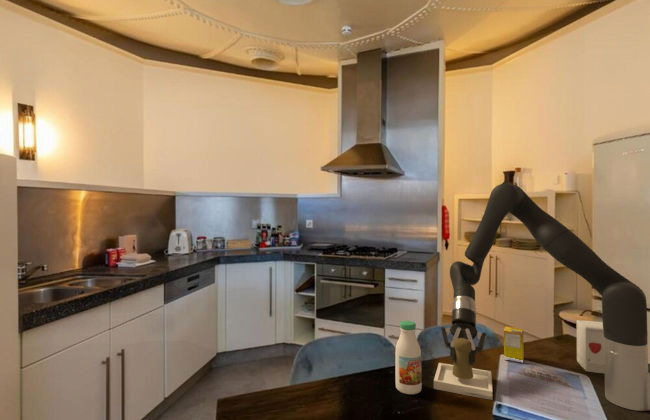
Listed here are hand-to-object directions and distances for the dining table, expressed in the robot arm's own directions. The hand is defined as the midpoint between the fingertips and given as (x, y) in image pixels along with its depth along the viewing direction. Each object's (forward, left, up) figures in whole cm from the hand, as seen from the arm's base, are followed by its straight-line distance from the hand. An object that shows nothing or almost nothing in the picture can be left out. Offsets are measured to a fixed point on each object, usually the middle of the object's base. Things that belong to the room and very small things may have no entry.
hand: (462, 362), depth 105 cm
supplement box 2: (-41, -32, -7) cm, 52 cm away
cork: (0, -2, -5) cm, 5 cm away
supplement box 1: (-16, -29, -8) cm, 34 cm away
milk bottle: (+15, +8, -7) cm, 19 cm away
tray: (0, -2, -7) cm, 8 cm away
